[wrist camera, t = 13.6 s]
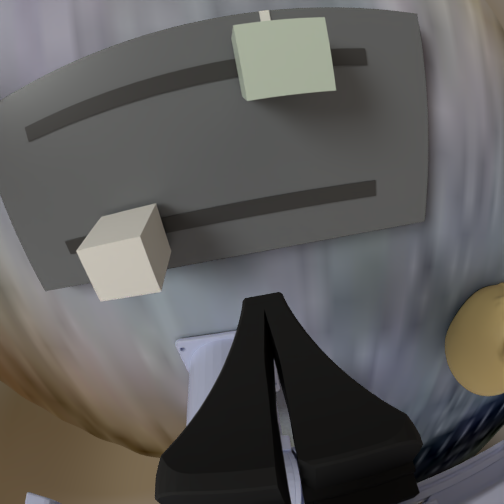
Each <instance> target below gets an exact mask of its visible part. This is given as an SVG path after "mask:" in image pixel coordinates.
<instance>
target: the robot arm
mask: <svg viewBox="0 0 504 504" xmlns="http://www.w3.org/2000/svg"><path fill="white" fill-rule="evenodd" d="M175 346H176V348H177V350H178V352H179V354H180V356H181V358H182V360H183V362H184V364H185V366H186V368H187V370H188V372H189V389H188V406H187V426H186V428H185V429H184V430H183V432H182V433H181V434H180V435H179V436H178V438H177V439H176V440H175V441H174V442H173V443H172V444H171V445H170V446H169V448H168V449H167V450H166V451H165V452H164V453H163V454H162V455H161V458H160V461H159V465H158V470H157V474H156V484H155V499H156V500H157V501H158V502H159V503H160V504H417V503H420V502H422V501H424V502H423V503H422V504H504V440H502V441H501V442H499V443H497V444H496V445H494V446H493V447H491V448H489V449H487V450H486V451H484V452H482V453H480V454H478V455H477V456H475V457H473V458H471V459H469V460H467V461H465V462H463V463H461V464H459V465H457V466H455V467H453V468H451V469H449V470H447V471H445V472H442V473H440V474H438V475H436V476H433V477H431V478H429V479H426V480H424V481H421V482H419V483H416V480H415V477H414V474H413V473H414V472H415V466H414V464H413V461H412V460H413V459H414V458H415V456H416V455H417V454H418V452H419V451H420V449H421V447H422V445H423V443H422V440H421V437H420V434H419V433H418V431H417V429H416V427H415V426H414V424H413V422H412V421H411V420H410V418H409V417H408V415H407V414H405V413H403V412H402V411H400V410H398V409H396V408H394V407H393V406H391V405H389V404H388V403H386V402H384V401H383V400H381V399H380V398H378V397H377V396H375V395H374V394H372V393H371V392H369V391H368V390H367V389H365V388H364V387H363V386H361V385H360V384H359V383H357V382H356V381H355V380H353V379H352V378H351V377H350V376H348V375H347V374H346V373H345V372H344V371H343V370H342V369H340V368H339V367H338V366H337V365H336V364H335V363H334V362H333V361H332V360H331V359H330V358H329V357H328V356H327V355H326V354H325V353H324V352H323V351H322V350H321V349H320V348H319V347H318V345H317V344H316V343H315V342H314V341H313V340H312V339H311V337H310V336H309V335H308V334H307V332H306V331H305V330H304V328H303V327H302V326H301V324H300V323H299V322H298V320H297V319H296V317H295V316H294V314H293V313H292V311H291V310H290V308H289V306H288V305H287V303H286V301H285V299H284V296H283V294H282V293H280V292H277V293H272V294H266V295H261V296H255V297H249V298H245V299H244V300H243V304H242V311H241V316H240V320H239V324H238V327H237V330H236V331H229V332H223V333H217V334H210V335H203V336H196V337H189V338H182V339H177V340H176V343H175ZM276 368H277V369H276ZM277 372H278V374H277ZM278 376H279V379H280V383H281V386H282V390H283V393H284V397H285V401H286V404H287V408H288V412H289V416H290V422H291V428H292V433H293V439H294V445H295V447H291V443H290V438H289V435H282V431H281V425H280V419H279V412H278V406H277V400H276V392H277V391H279V390H280V385H279V379H278ZM25 504H60V503H59V502H57V501H54V500H52V499H49V498H46V497H43V496H40V495H36V494H33V493H30V492H28V493H27V496H26V501H25Z"/></svg>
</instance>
